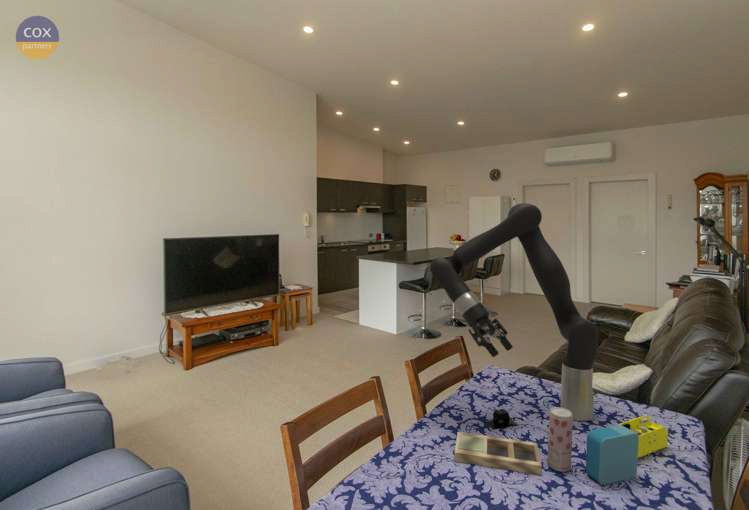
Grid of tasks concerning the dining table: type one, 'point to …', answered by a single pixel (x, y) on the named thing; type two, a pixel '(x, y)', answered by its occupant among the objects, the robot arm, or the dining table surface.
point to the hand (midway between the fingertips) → (503, 352)
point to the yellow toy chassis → (647, 434)
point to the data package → (612, 454)
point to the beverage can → (560, 439)
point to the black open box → (500, 420)
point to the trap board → (498, 453)
